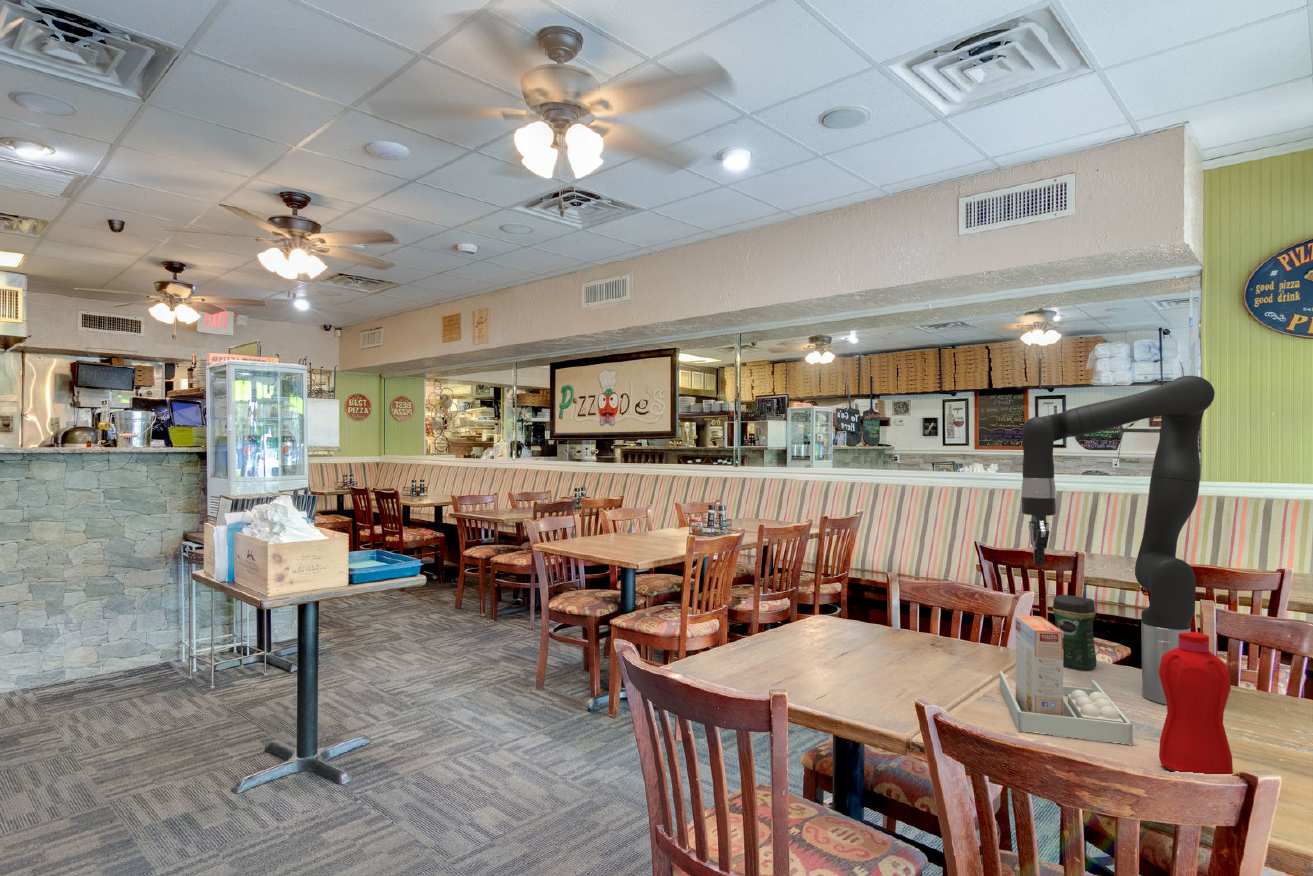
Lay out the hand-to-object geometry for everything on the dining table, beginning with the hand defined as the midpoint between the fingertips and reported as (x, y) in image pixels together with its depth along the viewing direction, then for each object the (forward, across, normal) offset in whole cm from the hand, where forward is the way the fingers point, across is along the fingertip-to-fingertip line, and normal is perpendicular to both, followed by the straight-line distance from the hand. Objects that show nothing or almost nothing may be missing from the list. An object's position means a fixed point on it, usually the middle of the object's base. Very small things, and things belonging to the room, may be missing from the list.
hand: (1039, 564), depth 175 cm
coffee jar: (+29, +16, -11) cm, 35 cm away
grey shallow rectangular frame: (+29, -24, 0) cm, 38 cm away
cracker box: (+29, -30, +5) cm, 42 cm away
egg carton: (+29, -30, -5) cm, 42 cm away
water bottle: (+29, -47, -16) cm, 58 cm away
